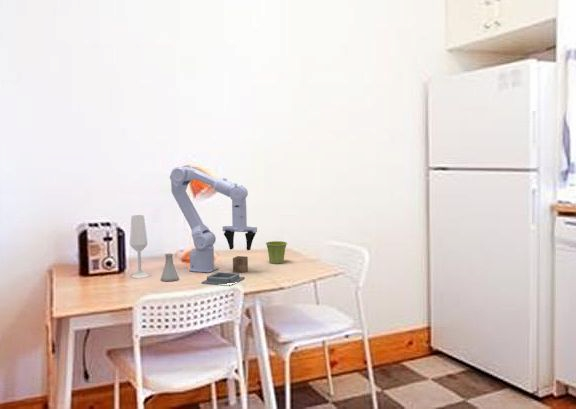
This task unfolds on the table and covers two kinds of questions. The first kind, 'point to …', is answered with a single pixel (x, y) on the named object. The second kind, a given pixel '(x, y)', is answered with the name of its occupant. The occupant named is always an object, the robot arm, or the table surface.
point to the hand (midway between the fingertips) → (240, 249)
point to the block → (240, 264)
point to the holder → (223, 278)
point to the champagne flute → (138, 240)
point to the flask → (169, 269)
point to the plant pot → (276, 251)
